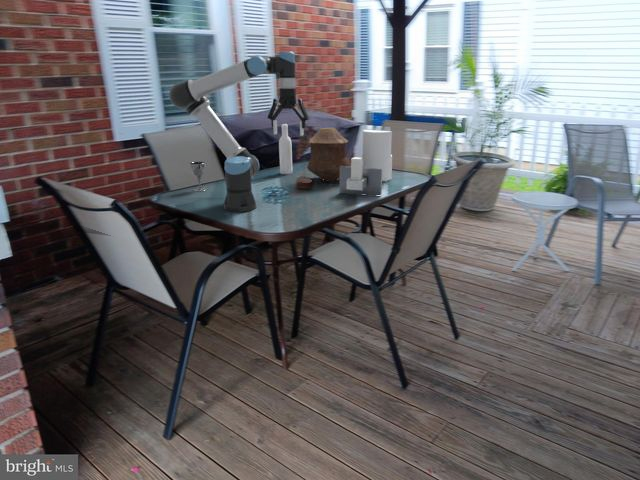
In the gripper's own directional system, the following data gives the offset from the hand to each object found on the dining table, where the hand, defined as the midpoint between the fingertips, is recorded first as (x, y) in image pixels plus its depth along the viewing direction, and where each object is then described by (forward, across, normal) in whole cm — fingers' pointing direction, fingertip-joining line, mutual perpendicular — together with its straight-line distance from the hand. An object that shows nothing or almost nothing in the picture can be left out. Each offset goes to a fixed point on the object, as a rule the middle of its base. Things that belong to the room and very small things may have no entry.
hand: (288, 134), depth 228 cm
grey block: (+32, -29, -19) cm, 47 cm away
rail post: (+26, -29, -17) cm, 43 cm away
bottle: (+33, +29, -62) cm, 76 cm away
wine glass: (+33, +57, -7) cm, 66 cm away
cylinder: (+32, -29, -63) cm, 76 cm away
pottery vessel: (+32, -2, -52) cm, 61 cm away
